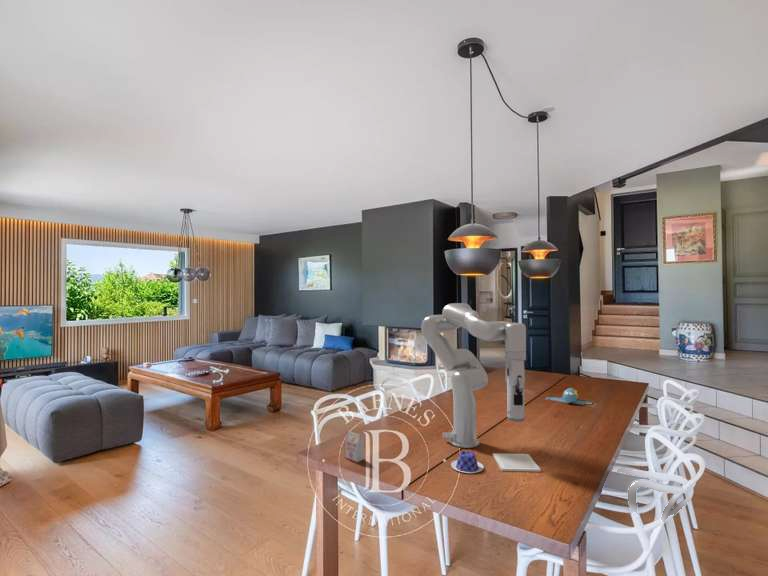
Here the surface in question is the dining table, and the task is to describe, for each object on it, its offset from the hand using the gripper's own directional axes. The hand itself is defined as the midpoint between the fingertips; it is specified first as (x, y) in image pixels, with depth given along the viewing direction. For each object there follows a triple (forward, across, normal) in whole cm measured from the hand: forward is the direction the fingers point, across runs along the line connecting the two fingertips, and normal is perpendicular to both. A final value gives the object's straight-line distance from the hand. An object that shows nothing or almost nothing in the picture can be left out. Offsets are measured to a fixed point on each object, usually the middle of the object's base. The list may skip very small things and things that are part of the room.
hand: (515, 402), depth 153 cm
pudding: (+24, +4, -19) cm, 31 cm away
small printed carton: (+24, -2, -62) cm, 66 cm away
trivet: (+23, 0, 0) cm, 23 cm away
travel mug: (+7, 0, 0) cm, 7 cm away
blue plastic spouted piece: (+24, -88, +58) cm, 108 cm away
